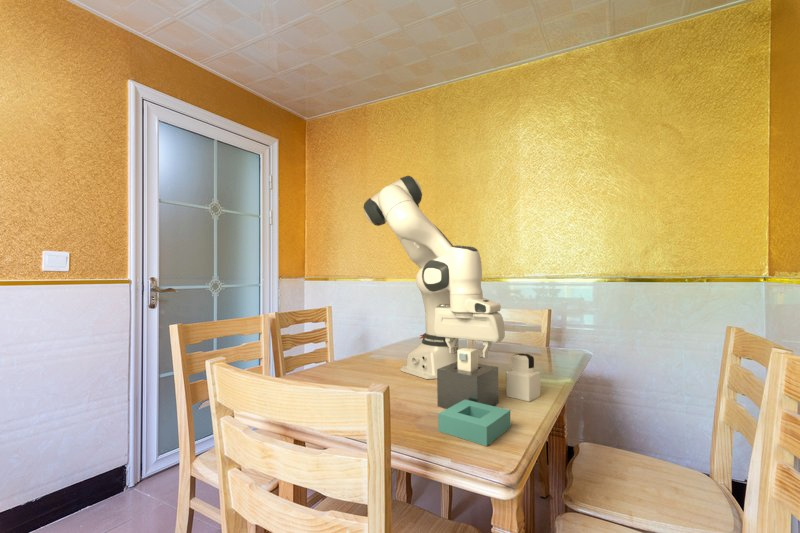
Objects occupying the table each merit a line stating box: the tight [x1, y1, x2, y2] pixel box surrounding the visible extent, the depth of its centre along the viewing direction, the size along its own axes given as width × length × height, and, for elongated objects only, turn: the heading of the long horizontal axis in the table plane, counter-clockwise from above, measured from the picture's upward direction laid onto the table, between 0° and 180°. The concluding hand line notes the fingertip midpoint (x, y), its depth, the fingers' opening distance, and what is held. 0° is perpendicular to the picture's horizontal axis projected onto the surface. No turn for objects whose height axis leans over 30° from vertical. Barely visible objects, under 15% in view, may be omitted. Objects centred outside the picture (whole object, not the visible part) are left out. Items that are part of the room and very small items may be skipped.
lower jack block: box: [437, 400, 511, 447], centre depth 87 cm, size 12×12×4 cm
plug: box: [457, 347, 479, 372], centre depth 102 cm, size 4×5×9 cm
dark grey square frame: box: [436, 362, 500, 410], centre depth 103 cm, size 12×12×10 cm
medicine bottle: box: [505, 353, 541, 402], centre depth 109 cm, size 7×7×12 cm
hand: (468, 355), depth 103 cm, fingers open, 8 cm apart
